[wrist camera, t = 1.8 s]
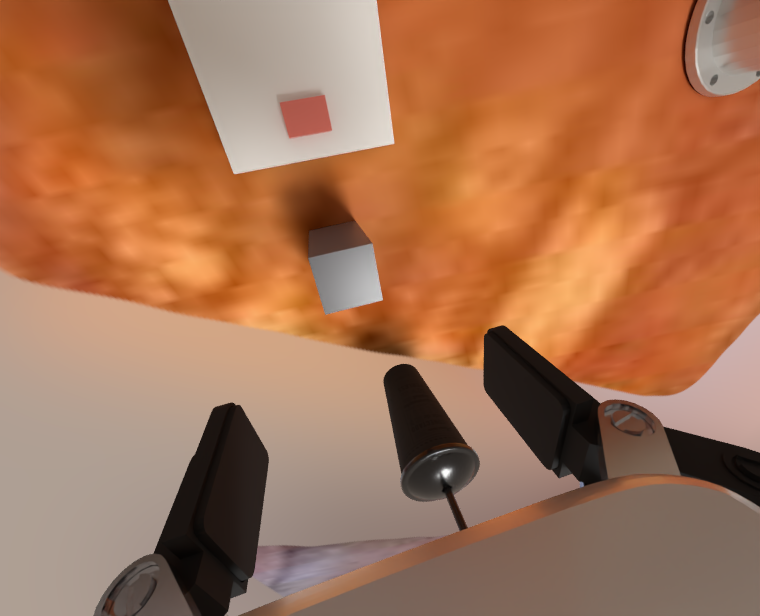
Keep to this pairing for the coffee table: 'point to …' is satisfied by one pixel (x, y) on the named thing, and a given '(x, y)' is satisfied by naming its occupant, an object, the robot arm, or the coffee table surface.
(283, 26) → the power strip
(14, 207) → the coffee table surface
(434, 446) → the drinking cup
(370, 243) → the plug
